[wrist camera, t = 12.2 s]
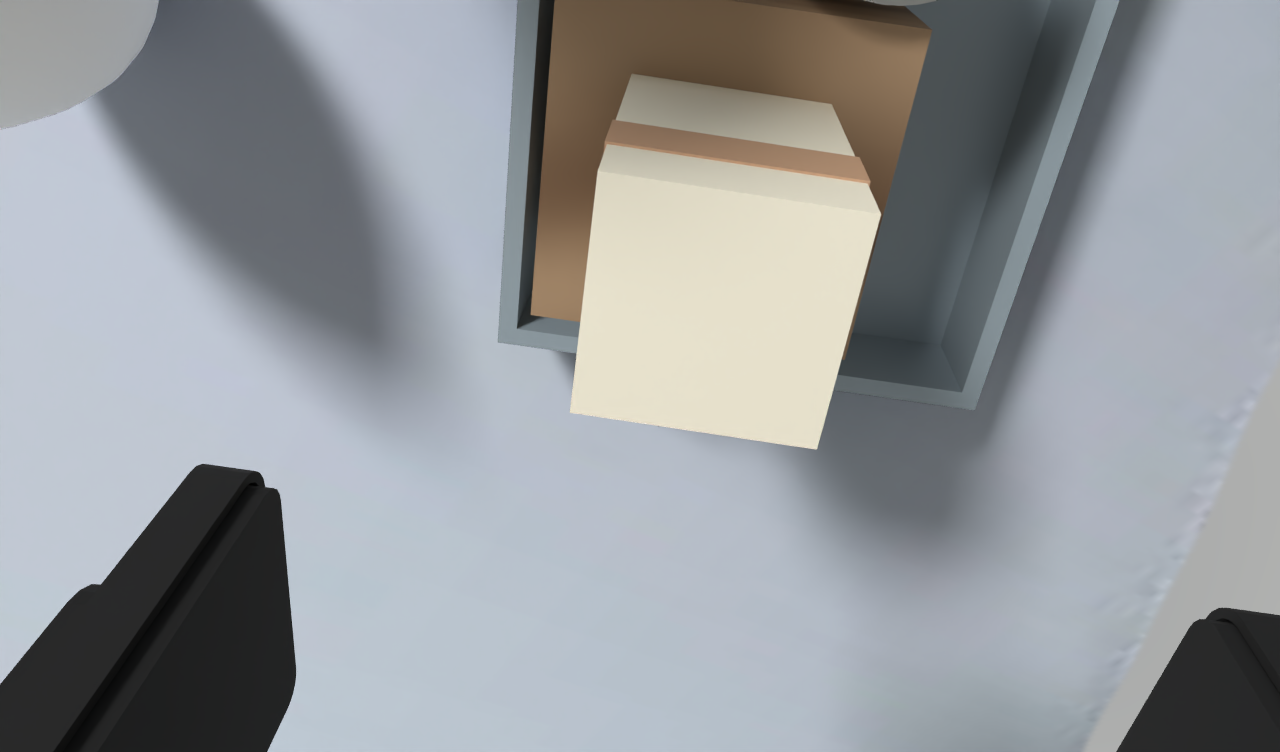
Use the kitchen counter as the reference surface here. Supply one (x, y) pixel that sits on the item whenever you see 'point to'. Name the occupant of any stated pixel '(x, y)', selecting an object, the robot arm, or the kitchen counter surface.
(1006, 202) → the grey shallow tray
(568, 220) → the walnut block
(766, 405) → the oat carton
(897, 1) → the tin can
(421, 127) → the kitchen counter surface
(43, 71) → the sauce bottle
